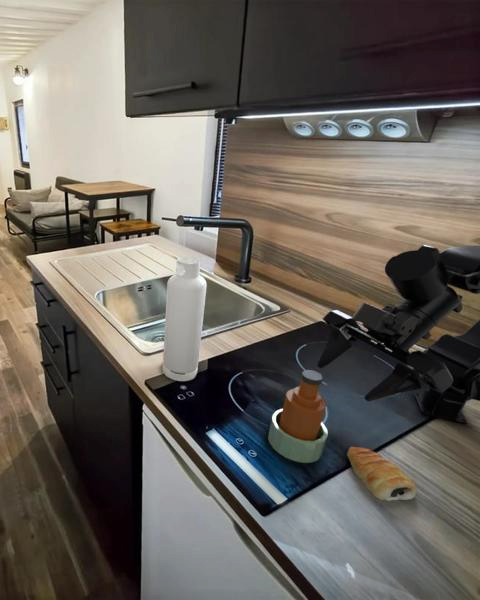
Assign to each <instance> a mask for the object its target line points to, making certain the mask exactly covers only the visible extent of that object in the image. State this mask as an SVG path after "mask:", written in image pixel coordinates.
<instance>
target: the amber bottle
mask: <svg viewBox="0 0 480 600" xmlns="http://www.w3.org/2000/svg"><path fill="white" fill-rule="evenodd" d="M300 376H301V377H300V384H299V386H296V387H294V388H291V389H289V390H288V391H287V392H286V394H285V399H284V402H283V407H282V409H283V411H282V415H281V419H280V423H279V428H280V429H282V430H283V431H284V432H285V433H286V434H288V435H290V436H292V437H294V438H297V439H300V440H304V441H315V440H316V438H317V435H318V432H319V428H320V425H321V422H322V423H323V418H324V414H325V411H326V408H327V402H326V400H325V399H324V398H323V397H322V395H321V393H320V392H319V390H320V386H321V384H322V383H323V380H324V376H323V375H322V373H320V372H318V371H316V370H312V369H305V370H303V371H302V372H301V375H300Z"/></svg>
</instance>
